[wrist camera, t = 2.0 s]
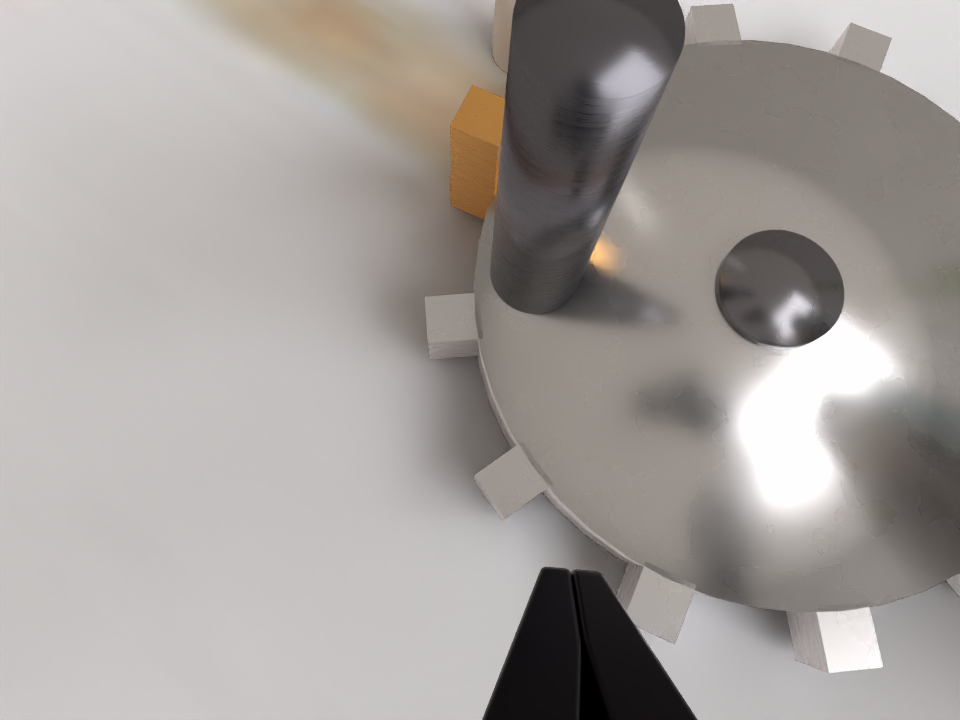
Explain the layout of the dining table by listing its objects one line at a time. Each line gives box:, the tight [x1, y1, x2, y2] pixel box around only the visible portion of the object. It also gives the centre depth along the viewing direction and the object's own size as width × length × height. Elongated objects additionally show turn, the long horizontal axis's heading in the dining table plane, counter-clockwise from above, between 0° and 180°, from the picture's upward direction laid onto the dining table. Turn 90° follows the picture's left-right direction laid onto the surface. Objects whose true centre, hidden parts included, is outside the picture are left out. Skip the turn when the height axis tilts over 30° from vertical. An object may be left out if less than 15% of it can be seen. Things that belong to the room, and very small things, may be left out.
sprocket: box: [424, 0, 960, 673], centre depth 18 cm, size 23×23×13 cm
